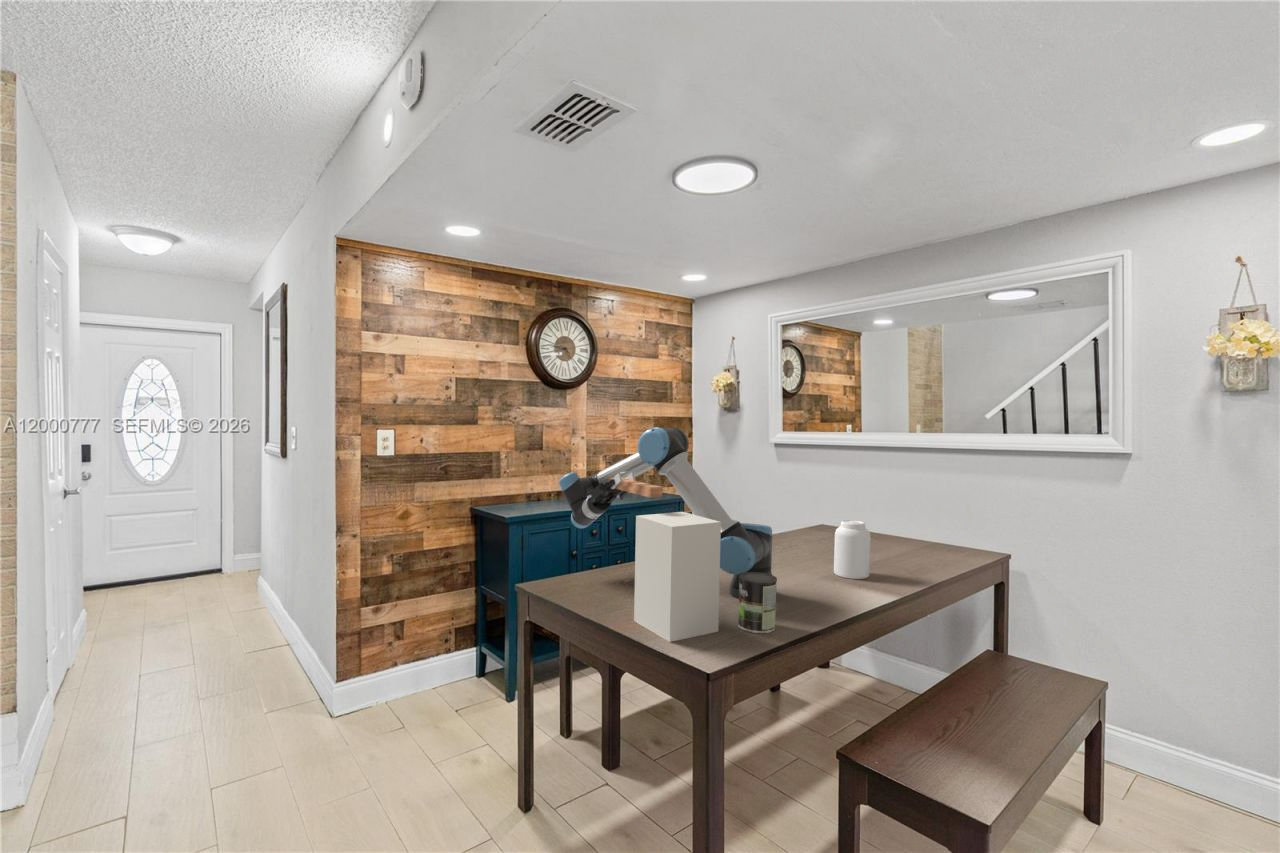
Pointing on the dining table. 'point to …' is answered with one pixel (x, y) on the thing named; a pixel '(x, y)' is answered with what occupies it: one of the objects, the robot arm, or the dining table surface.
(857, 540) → the white jar
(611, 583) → the dining table surface
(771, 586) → the coffee can
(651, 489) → the bar
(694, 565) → the pedestal
